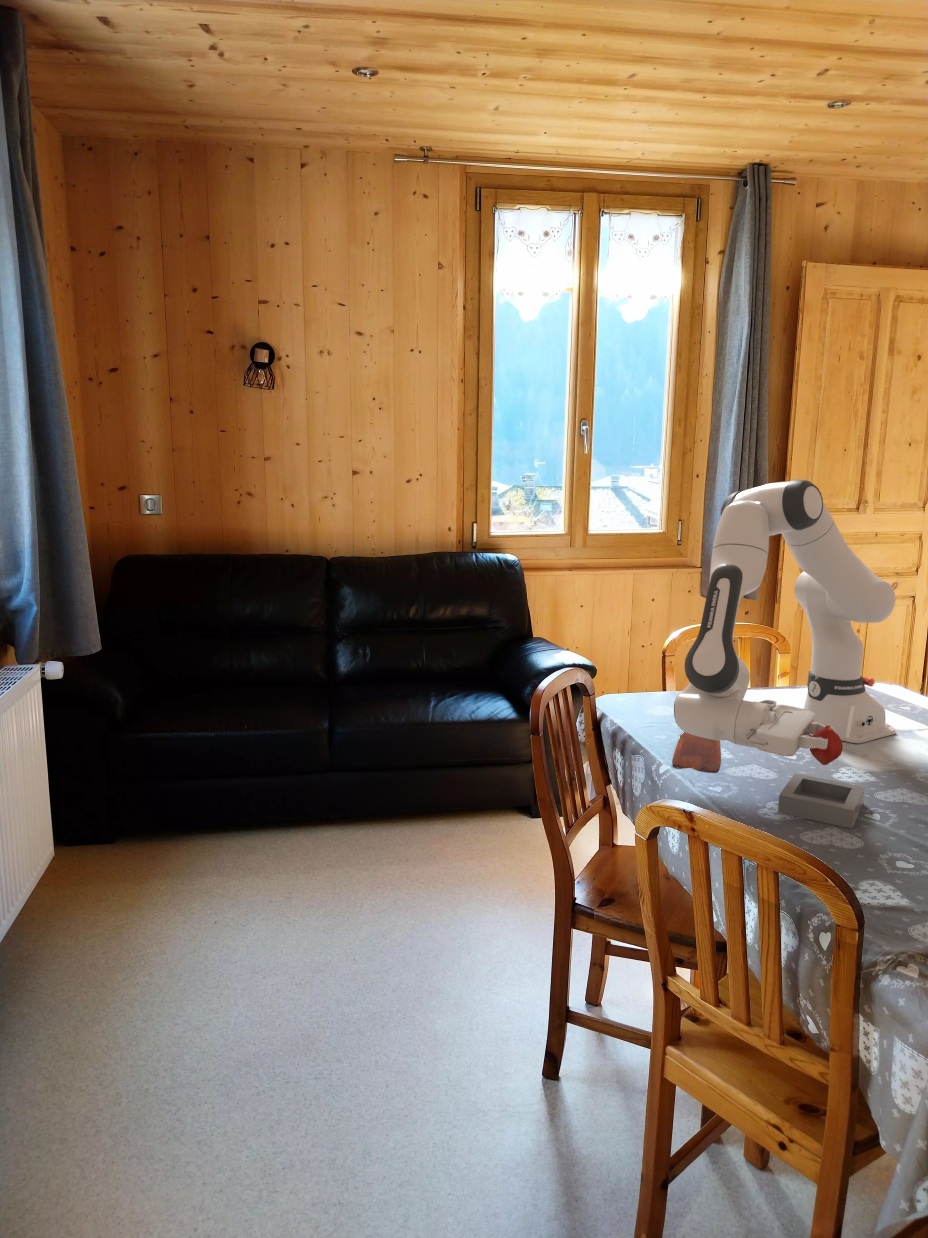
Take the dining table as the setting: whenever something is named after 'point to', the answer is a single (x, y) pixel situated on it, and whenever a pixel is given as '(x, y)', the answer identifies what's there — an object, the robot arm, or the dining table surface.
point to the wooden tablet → (697, 753)
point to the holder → (821, 800)
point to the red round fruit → (833, 746)
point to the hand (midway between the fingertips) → (831, 738)
